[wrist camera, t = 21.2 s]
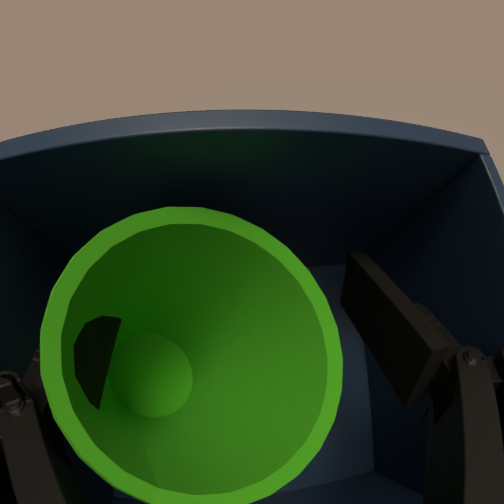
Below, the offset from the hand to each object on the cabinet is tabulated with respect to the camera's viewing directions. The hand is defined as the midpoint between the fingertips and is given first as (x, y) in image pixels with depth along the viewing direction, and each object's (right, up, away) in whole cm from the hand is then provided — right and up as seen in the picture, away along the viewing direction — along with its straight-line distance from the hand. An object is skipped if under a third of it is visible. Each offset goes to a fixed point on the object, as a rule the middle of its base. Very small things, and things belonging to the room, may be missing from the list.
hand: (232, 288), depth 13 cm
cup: (-5, -6, +3) cm, 8 cm away
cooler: (0, -7, +5) cm, 9 cm away
